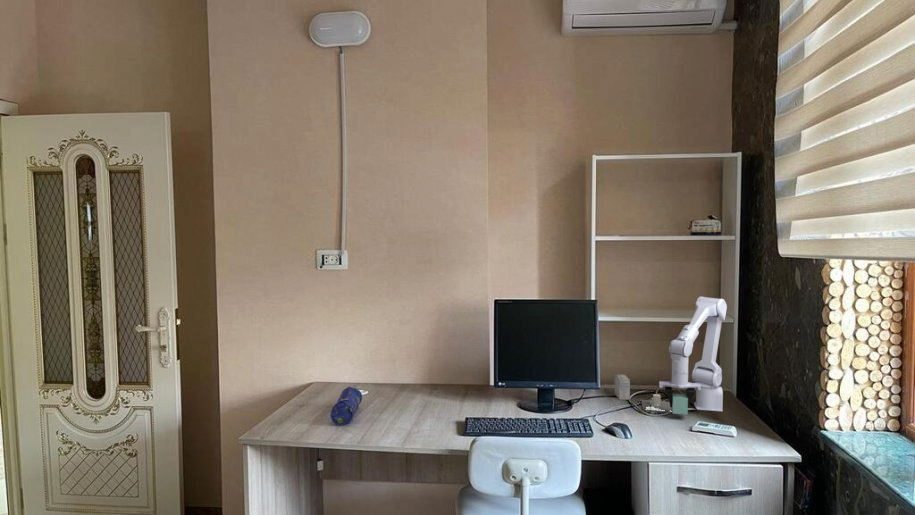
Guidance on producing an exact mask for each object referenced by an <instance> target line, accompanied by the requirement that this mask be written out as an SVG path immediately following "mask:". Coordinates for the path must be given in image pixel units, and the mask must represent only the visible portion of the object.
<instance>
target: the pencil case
mask: <svg viewBox="0 0 915 515" xmlns="http://www.w3.org/2000/svg"><path fill="white" fill-rule="evenodd" d="M362 400H363V394H362V391H361V390H359V389H358V388H356V387H351V386H347V387H346V388H344V389H343V390H342V391H341V394H340V395H339V397H338V399H337V402H336V403H335V404H334V405H333V406H332V408H331V410H330V419H331V421H332V422H333V424H335V425H337V426H339V427H344V426H346V425H347V424H349V423H350V422H352V420H353V418H354V415H355V414H356V413H357V410H358V409H359V407H360V406H359V405H360V404H361V403H362Z"/></svg>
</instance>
